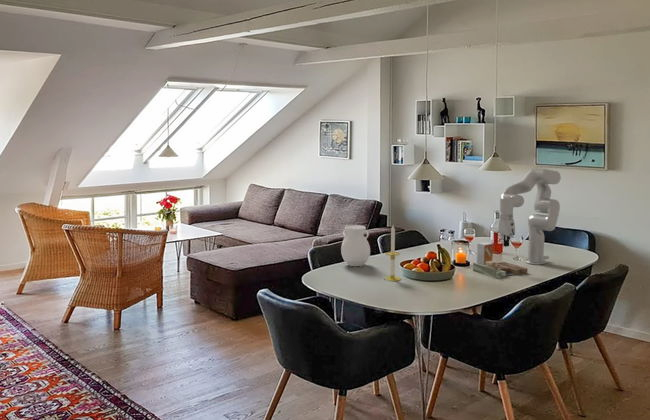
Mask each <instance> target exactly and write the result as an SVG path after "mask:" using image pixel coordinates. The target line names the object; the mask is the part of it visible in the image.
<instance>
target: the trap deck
mask: <svg viewBox="0 0 650 420" xmlns="http://www.w3.org/2000/svg"><path fill="white" fill-rule="evenodd" d="M472 271H473V272H475V273H478V274H481V275H484V276H487V277H490V278H493V279H499V278H505V277H513V276H521V275H527V274H528V268H527V267H525V266H524V267H523V266H520V265H518V264H513V263H509V262H506V261H501V262H498V268H497V269H493V268H490V267H486V264H485V265H483V264H479V263H477V262H473V263H472Z"/></svg>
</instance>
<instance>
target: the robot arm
mask: <svg viewBox="0 0 650 420" xmlns="http://www.w3.org/2000/svg"><path fill="white" fill-rule="evenodd" d="M561 178H562V176H561V173H560V172H559V171H557V170H553V169H548V168H538V167H536V168H535V167H533V168H530V169H529V170H528V172H526V174H525V175H524V176H523V177H522V178H521V179H520V181H518V182H516V183H514V184H512V185H511V186H509V187H507V188H505V190H504V191H503V193H501V195H500V198H499V209H500V210H499V222H498V233H499V236H501V237H502V241H503V245H502V246H503V247H504V248H505V247H510V240H511V239H513V238H514V236H515V235H516V225H515V223H516V222H515V220H514V208H521V207H522V206H523V205H524V204H525V197H523V196H522V195H521V194H527V193H529V192H531V191H532V190H533V188H534V187H535V186H536V188H537V192H536V196H535V201H534V206H533V210H534V211H535V212H536V213H533V214H531V215H529V217H528V218H527V226H528V246H527V247H528V251H527V254H528V255H527V259H525V261H524V262H525V263H527V264H529V265H536V266H537V265H538V266H540V265H545V264H547V262H546V260H549V259H550V257H549V256H548V255H545V254H544V253H545V234H544V231H546V232H547V231H548V232H552V231H554V230H555V229H556V227H557V222H558V218H559V215H560V210H561V204H560V202H559V201H558V200H557V199H554V198H551V197H552V189H551V187H550V185H557V184H559V183H560V182H561ZM537 213H538V214H537ZM540 213H541V214H540ZM545 214H548V215H545Z"/></svg>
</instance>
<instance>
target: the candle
mask: <svg viewBox="0 0 650 420" xmlns="http://www.w3.org/2000/svg"><path fill="white" fill-rule="evenodd" d="M390 230H391V232H390V251H387V252H385V255H386V256H390V273H389V274H390V276H385V277H386V279H387V280H390V281H389V282H399V281H402V278H401V277H400V276H396V274H395V272H396V271H395V270H396V269H395V268H396V267H395V266H396V265H395V264H396V256H400V255H401V253H400V252H398V251H396V250H395V248H396V247H395V246H396V245H395V244H396V243H395V242H396V228H395V226H394V225H392V227H391V228H390ZM398 280H399V281H398Z"/></svg>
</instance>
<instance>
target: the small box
mask: <svg viewBox="0 0 650 420" xmlns="http://www.w3.org/2000/svg"><path fill="white" fill-rule="evenodd" d="M476 246H477V247H476V248H477V249H476V251H477V253H476V263H477V264H480V265H486V261H493V258H494V257H493V253H494V243H492V242H480V243H479V242H478V243H477V245H476Z"/></svg>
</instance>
